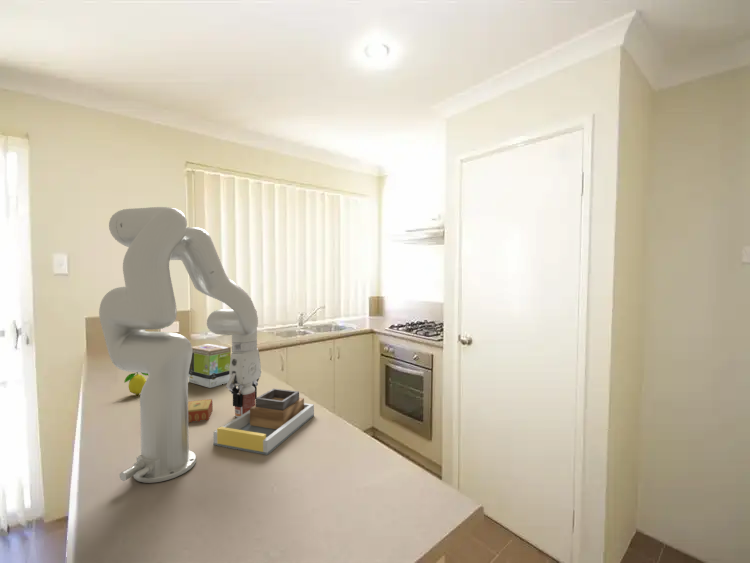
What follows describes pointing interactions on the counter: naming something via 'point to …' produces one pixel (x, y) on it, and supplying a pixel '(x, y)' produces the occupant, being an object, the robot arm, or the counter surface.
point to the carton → (199, 410)
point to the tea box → (210, 365)
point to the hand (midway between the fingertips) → (245, 401)
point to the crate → (275, 408)
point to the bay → (259, 432)
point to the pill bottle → (246, 399)
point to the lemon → (136, 382)
